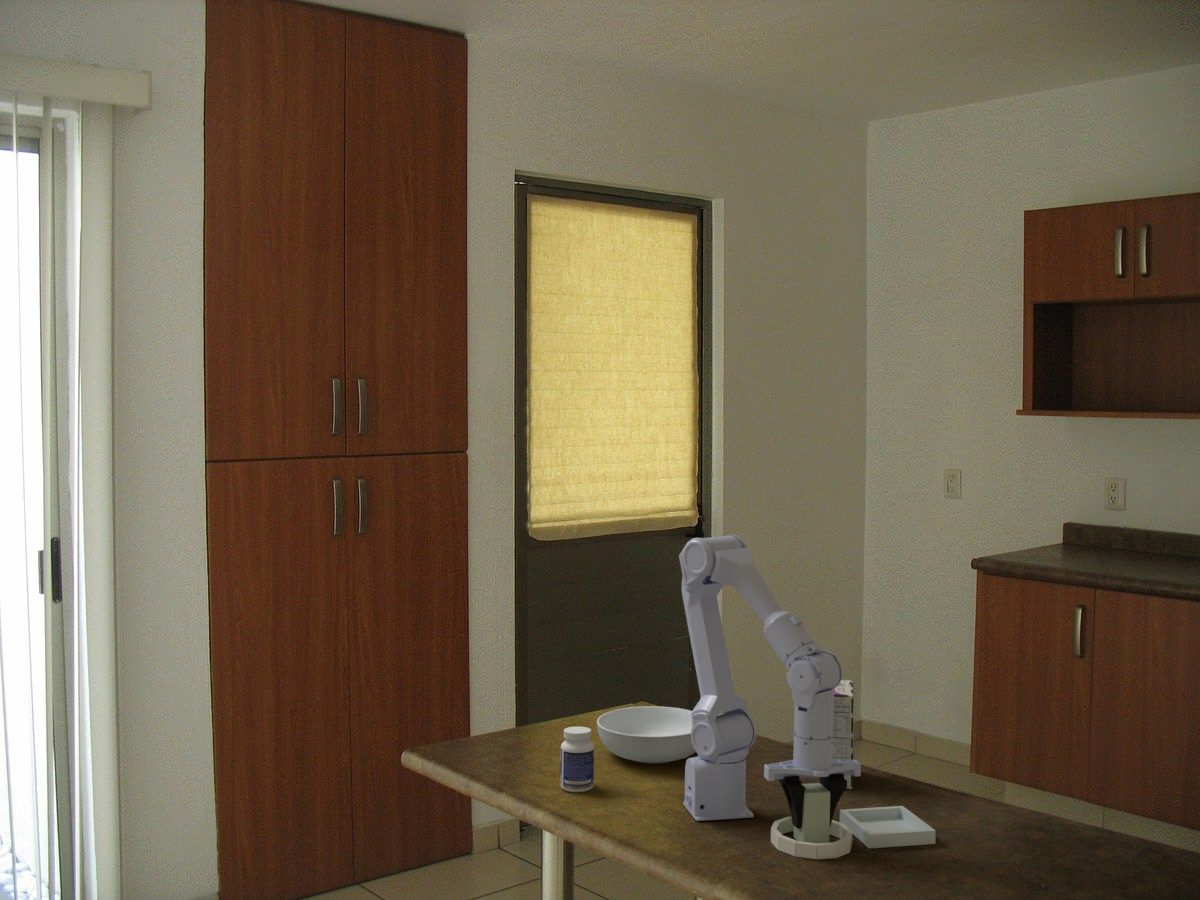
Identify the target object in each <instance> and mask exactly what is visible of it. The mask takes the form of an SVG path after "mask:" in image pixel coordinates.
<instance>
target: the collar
mask: <svg viewBox="0 0 1200 900" xmlns="http://www.w3.org/2000/svg"><path fill="white" fill-rule="evenodd" d="M790 832H794V825H793V824H792V818H791V816H786V817H782V818H781V819H780V818H779V819H777V820H775V821H774V822H773V823H772V825H771V828H770V843H771V844H772V845H773V846H774V847H775V848H776V849H777V850H778V851H780V852H783V853H785V854H788V855H790V856H793V857H796V858H804V859H811V860H827V859H838V858H840V857H842V856H843V857H844V856H845V855H846V854H847V855H848V854H850V853H851V851H852V850H851V849H852V846H853V834H852V831H851V830H850V829H849V828H848V827H847V826H846V825H844V824H843V823H840V821H836V820H834V819H832V823H831V826H830V830H829V836H834V837H836V838H838V839H837V840H836V841H832V842H830V841H829V843H810V842H802V841H797V840H796V839H795V838H794V839H793V838H791V837H788V836H787V835H786V836H785V834H787V833H790Z"/></svg>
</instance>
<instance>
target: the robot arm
mask: <svg viewBox="0 0 1200 900" xmlns="http://www.w3.org/2000/svg"><path fill="white" fill-rule="evenodd" d="M678 559H679V563H680V570H681V574H682V578H681V594H682V601H683V605H684V613H685V617H686V623H687V628H688V629H687V630H688V635H689V639H690V645H691V650H692V656H693V661H694V667H695V671H696V673H695V674H696V678H697V684H698V689H699V690H698V691H699V694H700V699H699V701H698V702H697V703H696V705H695V706H694V707H693V709H692V710H691V711H692V713H691V717H692V730H691V741H692V745H693V747H694V749H695V751H696V752H695V753H696V754H697V756H693V757H689V758H687V759H686V761H685V767H684V801H683V802H682V804H683V806H684V807H685V808H686V810H687V811H688V812H689V813H690V815H691V816H692V817H693V819H694V820H695V821H697V822H703V821H717V820H719V821H721V820H735V819H736V820H737V819H738V820H739V819H749V818H750V819H751V818H754V817H755V815H754V814H755V813H753V812H752V811H751V810H750V809H749V808H748V806H746V782H747V781H746V780H747V779H746V777H747V775H746V774H747V771H746V770H747V759H746V758H747V756H748V755H749V750H750V747H752V746H753V745H754V744H755V742H756V738H757V727H756V724H755V722H754V719H753V718H752V716H751V714H750V711H749V708H748V704H747V703H748V702H746V700H744V698H742V697H740V695H738V694H737V693H736V692H735V689H734V688H735V687H734V682H733V677H732V672H731V666H730V660H729V657H728V650H727V646H726V645H727V644H726V640H725V639H726V638H725V634H724V629H723V623H722V617H721V613H720V608H719V603H718V595H719V593H720V592H721V590H722V589H723V587H724V586H725V585H729V586H732V587H734V588H735V590H737V592H738V593H739V594H740V596H741V597H742V598H743V599H744V600H745V602H746V603H747V604H748V605H749V606H750V608H751V609H752V611H754V612H755V614H756V615H757V616H758V617H759V619H760V620H761V621H762V623H764V624H763V625H764V626H763V633H762V634H763V636H764V638H765V639H766V640H767V642H768V643H769V645H770V646H771V647H772V649H773V651H774V652H775V653H776V654H777V656H778V657H779V659H780V660H781V662H782V664H783V665H784V666H785V667H786V669H787V670H788V671H787V672H786V673H785V674H786V682H787V684H788V687H789V688H790V690H791V693H792V699H791V700H792V701H793V704H794V708H793V709H794V711H793V712H794V714H793V716H794V718H793V749H792V750H793V752H792V753H793V754H792V757H793V759H789V760H784V761H780V762H774V763H766V764H764V766H763V778H765V780H767V782H775V780H778V782H779V783H780V786H781V788H782V790H783V793H784V795H785V798H786V802H787V804H788V808H789V811H790V817H791V818H792V824H793V825H794V826H795V827H796V828H801V827H802V806H803V798H804V793H805V789H806V788H805V787H804V786H803V785H802V784H803V783H802V780H801V779H802V778H803V779H804V778H805V779H807V778H819V783H820V784H821V785H823V786H824V787H825V788H826V789H827V790H829V791H830V826H831V823H832V820H834V814H835V811H836V808H837V805H838V804H839V801H840V799H841V797H842V796H843V794H844V792H845V791H846V790H847V789H846V788H847V780H845V779H844V775H853V777H861V775H862V773H861V772H862V763H860V762H859V761H858V760H856V759H853V760H841V759H832V756H833V711H834V688H836V687H837V686H838V685H839V684H840V682H841V680H843V679H842V678H843V668H842V666H841V663H840V660H839V659H838V657H837V655H836V654H835V653H833V652H832V651H829V650H825V649H824V648H823V647H822V646H820V645H819V644H818V643H817V642H816V641H815V640H814V638H813V637H812V635H811V634H810V633H809V631H808V630H807V629H806V627H805V626H804V625H803V623H804V621H803V620H802V618H801V617H800V616H799V615H796V614H795V613H794V612H791V611H785V610H783V609H782V607H781V605H780V604H779V603H778V601H777V599H776V598H775V596H774V595H773V593H772V591H771V590H770V588H769V586H768V585H767V583H766V582H765V580H764V578H763V577H762V575H761V574H760V572H759V570H758V569H757V568H756V566H755V564H754V553H753V552H752V550H751V549H750V548H749V547H747V544H746V542H745V541H744V539H742V537H740V536H739V535H737V534H727V535H723V536H712V537H695V538H694V537H693V538H691V539H690V540H689V541H687V542H686V544H685V545H684V547H683V548H682V550H681V551H680V553H679V555H678Z"/></svg>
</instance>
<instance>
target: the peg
mask: <svg viewBox="0 0 1200 900" xmlns="http://www.w3.org/2000/svg"><path fill="white" fill-rule="evenodd" d="M801 784H802V785H803V786H804V787H805V788H806V789H805V793H804V798H803V806H802V827H801V828H796V827H795V826H794V831H793V838H794V840H796V841H802V842H810V843H829V842H830V834H829V830H830V791H829V790H827V789H826V788H825V787H824V786H823V785H821V784H820V782H814V783H813V782H812V783H801Z"/></svg>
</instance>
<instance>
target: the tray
mask: <svg viewBox="0 0 1200 900" xmlns="http://www.w3.org/2000/svg"><path fill="white" fill-rule="evenodd" d="M839 822H840V823H843V824H844V825H846V826H847V827H848V828H849V829H850V830H851V831H852V836H853V835H854V837H856V838H857V839H858V840H859V841H860V842H861V843H863V845H864V846H866V847H867V848H868V849H880V848H882V849H883V848H893V847H894V848H895V847H896V848H898V847H907V846H908V847H909V846H922V845H936V836H937V835H936V834H937V833H936V829H934V828H933V827H931V825H929V824H928V823H926V822H925V821H924V820H922V819H921V818H919V817H918V816H917V815H916V814H914V813H913V812H912V811H910V810H909V809H907V808H906V807H905V806H903V805H895V806H879V807H865V808H861V807H860V808H847V809H844V808H843V809H840V810H839Z"/></svg>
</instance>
